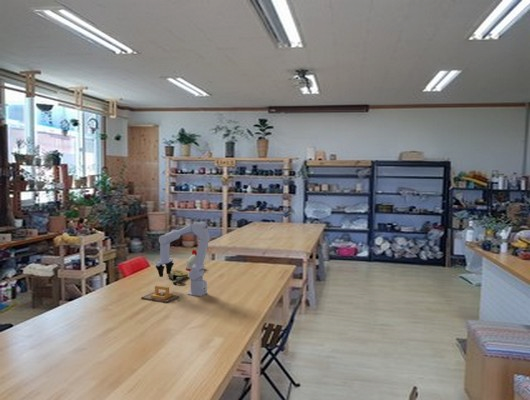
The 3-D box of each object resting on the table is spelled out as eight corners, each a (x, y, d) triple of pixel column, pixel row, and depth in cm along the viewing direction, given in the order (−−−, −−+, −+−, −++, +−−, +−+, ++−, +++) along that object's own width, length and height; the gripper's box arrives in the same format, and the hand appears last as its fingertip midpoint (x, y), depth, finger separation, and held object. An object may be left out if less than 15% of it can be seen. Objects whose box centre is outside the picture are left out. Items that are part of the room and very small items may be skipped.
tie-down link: (172, 295, 238) (173, 285, 238) (163, 299, 230) (163, 289, 229) (160, 293, 241) (160, 283, 241) (150, 297, 233) (150, 287, 233)
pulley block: (167, 276, 264) (168, 266, 293) (165, 284, 264) (167, 274, 293) (189, 278, 267) (188, 268, 296) (187, 287, 267) (186, 276, 296)
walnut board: (179, 297, 238) (179, 295, 238) (167, 303, 227) (167, 301, 227) (154, 293, 245) (154, 292, 245) (141, 298, 234) (141, 297, 234)
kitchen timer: (198, 266, 323) (198, 248, 322) (207, 269, 312) (207, 250, 311) (182, 268, 314) (182, 249, 313) (191, 272, 303) (191, 252, 303)
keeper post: (163, 297, 236) (163, 291, 236) (162, 298, 234) (162, 292, 234) (161, 297, 236) (161, 291, 236) (159, 297, 235) (160, 292, 235)
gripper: (166, 251, 260) (166, 272, 261) (152, 255, 246) (152, 277, 247) (175, 252, 257) (175, 273, 258) (161, 256, 244) (161, 278, 244)
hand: (164, 275), depth 252 cm, fingers open, 7 cm apart
